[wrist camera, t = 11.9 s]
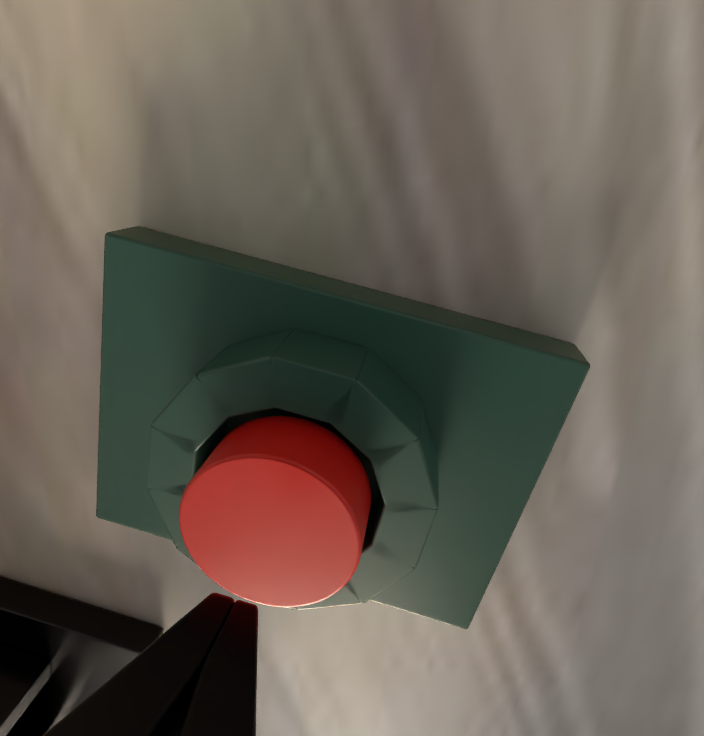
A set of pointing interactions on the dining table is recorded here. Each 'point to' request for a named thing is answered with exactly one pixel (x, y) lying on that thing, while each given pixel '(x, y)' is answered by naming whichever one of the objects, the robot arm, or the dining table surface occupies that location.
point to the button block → (328, 406)
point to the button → (278, 512)
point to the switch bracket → (57, 655)
